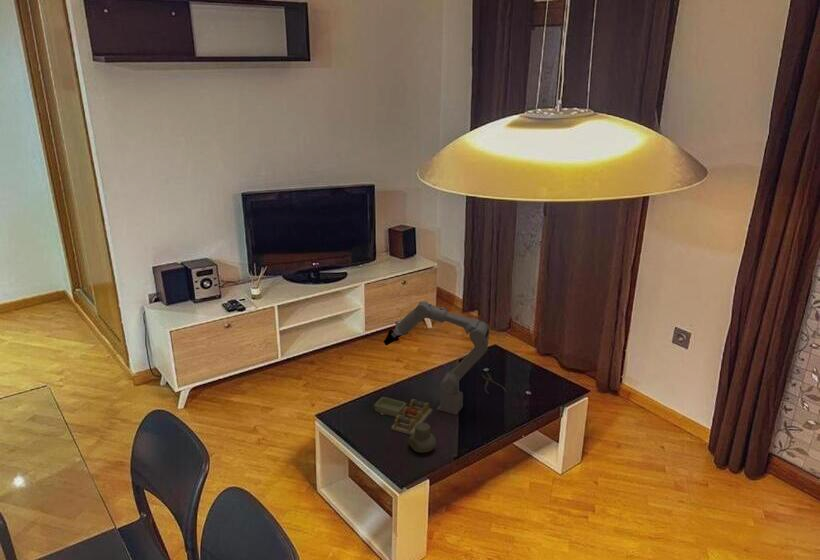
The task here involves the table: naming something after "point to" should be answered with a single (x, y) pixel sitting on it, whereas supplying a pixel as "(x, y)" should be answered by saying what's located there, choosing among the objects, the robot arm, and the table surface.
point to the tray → (389, 406)
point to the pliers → (491, 381)
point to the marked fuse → (412, 411)
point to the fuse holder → (408, 428)
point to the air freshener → (422, 438)
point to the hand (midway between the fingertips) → (388, 340)
